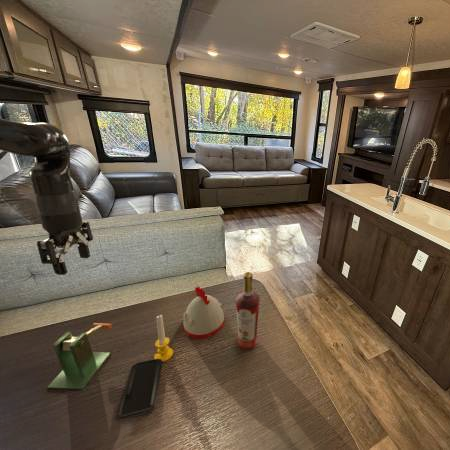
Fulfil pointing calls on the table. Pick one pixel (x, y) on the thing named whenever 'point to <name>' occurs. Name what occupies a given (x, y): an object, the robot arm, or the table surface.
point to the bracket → (76, 363)
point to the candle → (162, 342)
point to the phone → (141, 389)
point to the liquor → (247, 314)
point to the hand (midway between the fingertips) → (74, 265)
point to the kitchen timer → (203, 316)
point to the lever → (95, 327)
